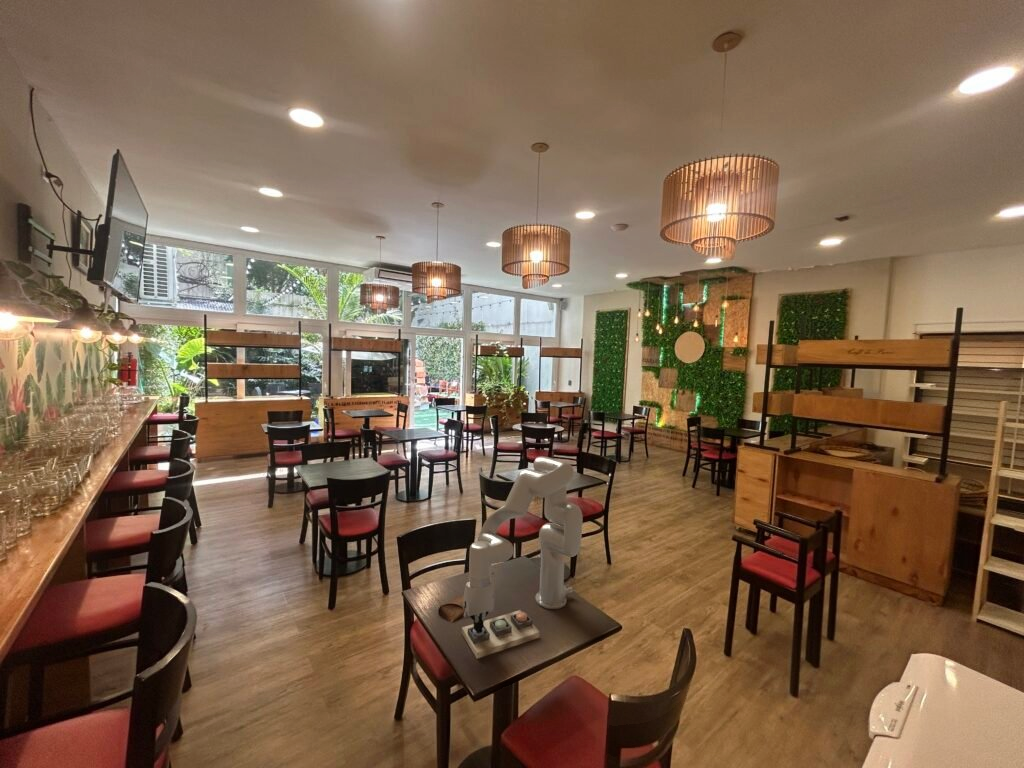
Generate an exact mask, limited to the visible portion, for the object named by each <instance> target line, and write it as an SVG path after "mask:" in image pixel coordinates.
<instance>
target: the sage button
mask: <svg viewBox="0 0 1024 768" xmlns="http://www.w3.org/2000/svg"><path fill="white" fill-rule="evenodd" d="M495 627H496V628H497V630H500V629H503V628H506V622H505V621H503V620H498V621H496V622H495Z"/></svg>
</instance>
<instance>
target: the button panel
mask: <svg viewBox="0 0 1024 768" xmlns="http://www.w3.org/2000/svg"><path fill="white" fill-rule="evenodd" d="M519 612H524V613H526V614H527V612H526V611H525V610H524V611H522V610H521V609H519V610H515V611H512V612H508V613H505V614H502V615H499V616H495V617H492V618H489V619H485V620H484V621H483V628H484V635H481V636H477V637H475V636H474V635H473V629H474V623H472V624H469V625H466V626H462V627H461V635H462V636H463V638H464V640H465V641H466V643H467V644H468V646H469V648H470V650H471V651H472V653H473V654H474V657H475V658H476V659H481V658H484V657H486V656H490V655H493V654H495V653H498V652H501V651H504V650H507V649H510V648H513V647H515V646H518V645H521V644H524V643H526V642H530V641H533V640H537V639H539V638H540V636H541V635H540V631H539V629H538V628H537V627H536V626H535V625H534V624H533V619H532V618H531V617H530V615H528V614H527V621H525V622H522V623H518V621H517V620H516V614H517V613H519ZM498 620H503V621H505V622H506V628H503V629H500V630H497V628H496V627H495V622H496V621H498Z"/></svg>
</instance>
